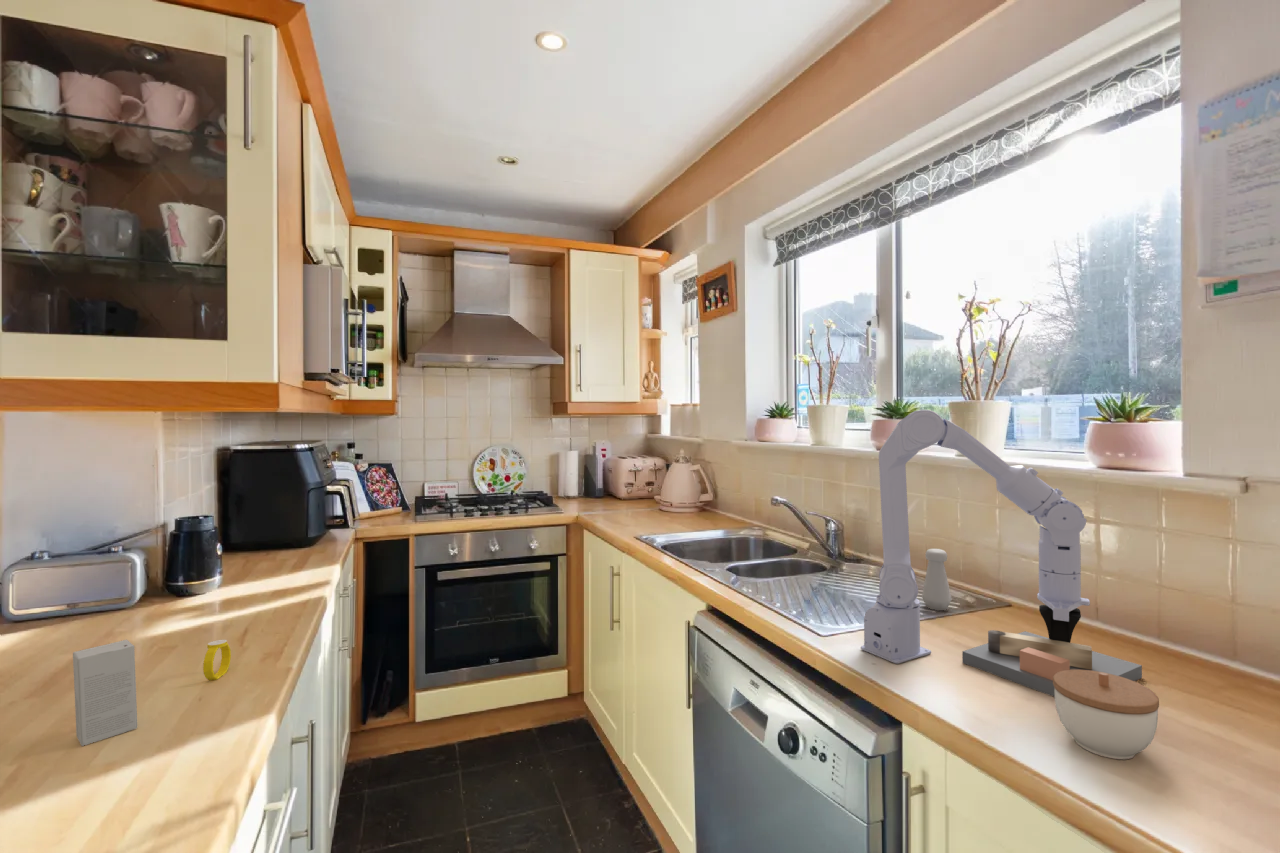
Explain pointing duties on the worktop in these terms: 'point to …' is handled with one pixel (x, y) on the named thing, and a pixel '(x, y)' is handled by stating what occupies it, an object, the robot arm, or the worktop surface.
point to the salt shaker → (936, 581)
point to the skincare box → (104, 691)
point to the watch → (209, 659)
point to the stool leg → (1040, 647)
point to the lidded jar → (1106, 712)
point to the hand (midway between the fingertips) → (1059, 651)
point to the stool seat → (1042, 665)
